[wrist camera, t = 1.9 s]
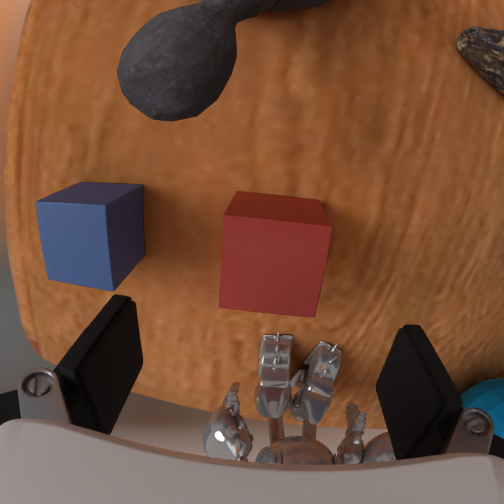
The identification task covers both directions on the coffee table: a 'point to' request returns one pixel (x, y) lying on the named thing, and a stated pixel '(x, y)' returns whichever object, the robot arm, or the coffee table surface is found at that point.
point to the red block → (273, 254)
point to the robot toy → (301, 407)
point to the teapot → (188, 55)
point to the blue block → (92, 233)
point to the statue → (484, 53)
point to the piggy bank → (488, 401)
